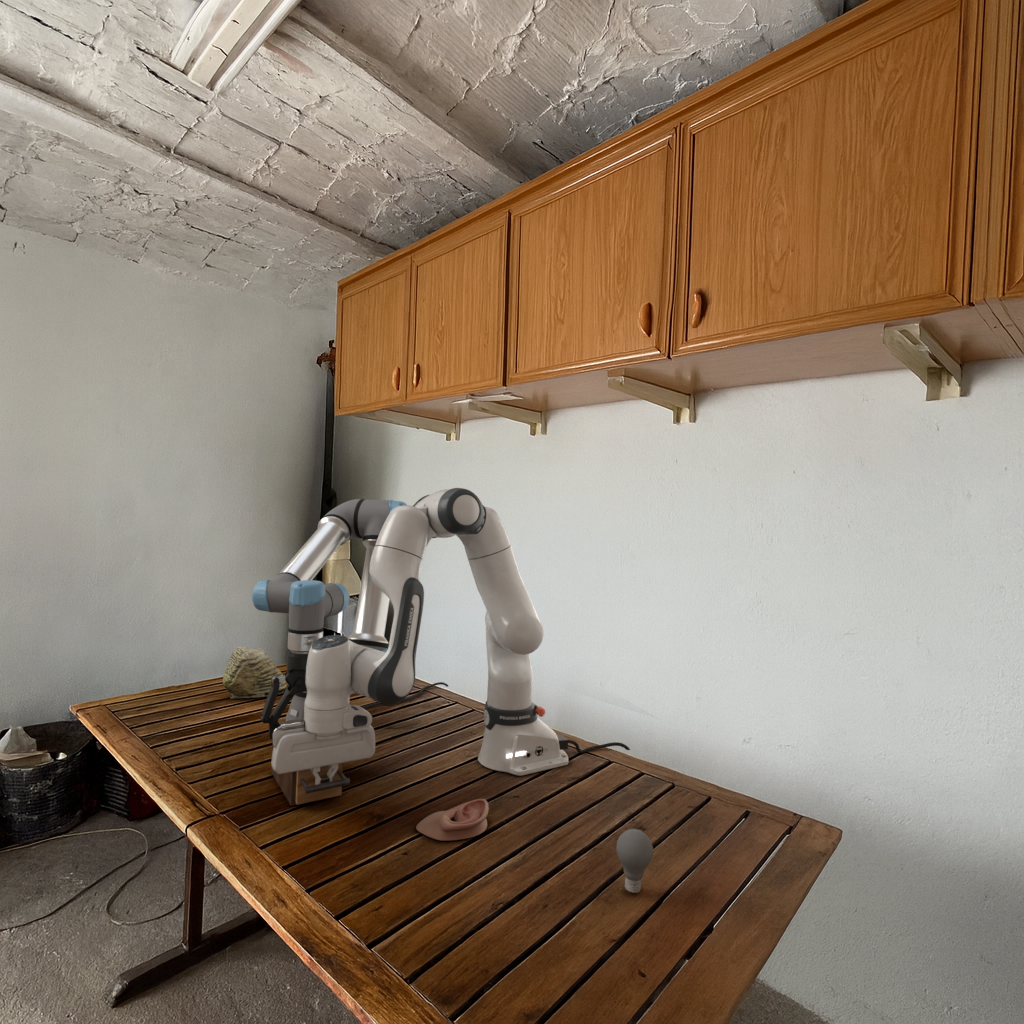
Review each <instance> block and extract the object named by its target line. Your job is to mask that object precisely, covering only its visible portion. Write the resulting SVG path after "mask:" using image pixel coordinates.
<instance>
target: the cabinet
mask: <svg viewBox="0 0 1024 1024" xmlns="http://www.w3.org/2000/svg"><path fill="white" fill-rule="evenodd" d="M300 721H304V718H302V719H296V720H289V721H286V720H283V721H282V720H281V721H278V722H279V724H280V726H281V725H282V724H286V723H288V724H290V723H294V722H300ZM280 730H281V729H280ZM272 753H273V748H272ZM272 753H271V754H272ZM271 775H272V776H273V778H274V779H275V782H276V783H277V785H278V787H279V788H280V789H281V792H282V793H283V795H284V797H285V798H286V800H287V802H288V803H289V805H290V806H291V807H294V806H298V805H297V804H296V777H297V771H295V772H289V773H284V774H277V773H276V772H275V771H274V770H273V768H272V767H271Z"/></svg>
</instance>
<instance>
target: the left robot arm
mask: <svg viewBox="0 0 1024 1024" xmlns="http://www.w3.org/2000/svg"><path fill="white" fill-rule="evenodd" d="M401 505H408V504H407V503H406V502H404V501H401V500H393V499H365V498H356V499H351V500H347V501H344V502H342V503H340V504H338V505H336V506H335V507H334V508H332V509H331V510H329V511H328V512H327V513H326V514H325V515H323V517H322V518H321V519H320V520H319V521H318V524H317V529H316V530H315V531H314V533H312V535H311V536H310V537H309V538H308V539H307V540H306V542H305V543H304V544H303V545H302V546H301V548H299V550H298V551H297V552H296V553H295V555H294V556H293V557H292V558H291V559H290V560H289V561H288V562H287V563H286V565H285V566H284V567H283V568H282V569H281V570H280V572H279V573H278V574H277V575H276V576H275V577H274V578H273V579H272V580H270V579H266V580H260V581H258V582H257V583H256V584H255V585H254V587H253V590H252V594H251V601H252V603H253V606H254V608H255V609H256V610H258V611H262V612H267V613H277V614H288V630H287V631H288V633H287V650H288V652H286V653H287V654H286V657H287V658H286V672H285V673H284V674H283V676H275V675H274V676H272V677H271V688H270V691H269V694H268V696H266V699H265V702H264V705H263V708H262V711H261V714H260V716H259V718H260V719H259V720H261V722H262V723H263V724H268V738H269V739H270V740H272V735H273V732H274V730H275V729H276V728H278V727H280V724H279V722H280V721H279V720H280V718H281V716H282V715H283V713H284V712H285V710H286V709H287V707H288V706H289V708H288V711H287V713H286V715H285V721H289V720H296V719H302V718H304V703H305V699H306V696H307V688H306V683H305V680H306V665H307V658H308V654H309V650H310V647H311V645H312V644H313V642H315V641H316V640H318V639H319V638H322V637H324V623H325V622H324V621H325V619H326V618H330V617H332V616H336V615H339V614H340V613H342V612H343V611H345V610H346V609H347V608H348V606H349V604H350V599H351V598H350V593H349V590H348V589H347V587H346V586H345V585H343V584H341V583H339V582H328V583H326V584H325V583H324V582H323V581H320V580H315V579H314V578H315V577H316V576H317V575H318V574H319V572H320V571H321V570H322V568H323V567H324V566H325V564H327V562H328V561H329V559H330V558H331V557H332V556H333V554H334V553H335V552H336V550H338V548H339V547H340V546H343V545H345V544H346V543H347V542H348V541H349V540H352V539H361V540H362V544H363V546H364V547H365V550H366V551H365V556H364V557H365V558H364V562H363V568H362V569H363V570H362V574H361V580H360V581H361V582H360V587H359V594H358V600H357V606H356V612H355V619H354V624H353V630H352V633H351V634H350V635H348V636H346V637H347V638H348V639H349V640H350V641H352V642H354V643H356V644H358V645H361V646H365V647H369V648H373V649H376V650H379V651H382V652H386V651H387V650H388V647H389V641H388V640H387V638H386V637H385V633H386V625H387V620H388V613H389V606H390V601H391V600H390V599H389V598H388V597H387V595H385V594H384V593H383V592H382V591H381V590H380V589H379V588H378V587H377V586H376V585H375V584H374V582H373V580H372V578H371V576H370V572H369V568H370V560H371V556H372V553H373V550H374V547H375V544H376V541H377V539H378V536H379V534H380V531H381V529H382V527H383V525H384V523H385V521H386V519H387V517H388V515H389V513H390V512H391V510H392V509H394V508H395V507H397V506H401ZM284 681H286V684H287V687H286V690H285V691H284V692H283V693H282V695H281V698H280V699H279V701H278V703H277V704H276V706H275V703H276V700H277V697H278V695H279V694H278V692H279V687H280V686H282V684H283V682H284ZM430 685H431V686H429V685H426V686H423V687H422V688H420V690H419V691H418V692H416V693H415V694H413V695H411V696H408V697H406V698H405V699H404V700H403V701H401V702H400V703H403V702H406V701H410V700H412V699H414V698H416V697H418V696H420V695H421V694H422V693H423V691H425V690H427V689H431V688H433V687H436V686H438V685H439V686H440V685H441V686H442V685H443V686H445V687H449V684H447V683H446V682H443V681H438V682H434V683H432V684H430ZM381 705H382V704H380V703H379V702H373V703H370V704H367V705H363V706H361V707H362V708H364V709H365V710H366V709H368V708H371V707H376V706H381ZM274 706H275V707H274ZM273 708H274V709H273ZM279 730H280V729H279ZM273 747H274V746H273V745H272V748H273Z"/></svg>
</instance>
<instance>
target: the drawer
mask: <svg viewBox="0 0 1024 1024" xmlns="http://www.w3.org/2000/svg"><path fill="white" fill-rule="evenodd" d="M343 767H344V762H343V763H338V770H337V771H336V773H335V775H334V776H333V777H332V781H331V782H327V783H322V784H317V785H315V776H314V775H313V773H312V771H311V770H310V769H305V770H300V771H297V777H296V804H297V805H296V806H298V805H302V804H307V803H312V802H316V801H322V800H325V799H330V798H334V797H338V796H342V795H343V787H345V786H349V785H350V784H351V780H350V777H346V776H345V775H344V773H343V771H344V770H343V769H344V768H343ZM329 769H330V766H329V765H327V766H322V767H320V772H317V773H318V775H319V776H322V775H327V772H328V771H329Z"/></svg>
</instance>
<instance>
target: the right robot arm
mask: <svg viewBox="0 0 1024 1024" xmlns="http://www.w3.org/2000/svg"><path fill="white" fill-rule="evenodd" d="M455 536H456V537H457V538H458V539H459V540H460V541H461V543H462V545H463V547H464V550H465V554H466V558H467V562H468V565H469V566H470V571H471V573H472V577H473V579H474V583H475V586H476V589H477V591H478V593H479V595H480V597H481V600H482V603H483V605H484V607H485V610H486V611H485V616H484V623H485V641H486V642H485V643H486V644H485V645H486V659H487V695H486V701H485V705H484V711H483V712H484V713H483V714H484V715H483V723H484V732H483V737H482V742H481V747H480V750H479V753H478V756H477V761H478V762H479V764H481V766H483V767H485V768H488V769H490V770H492V771H493V770H494V771H497V772H504V773H508V774H511V775H514V776H519V777H520V776H526V775H529V774H535V773H538V772H542V771H543V772H544V771H547V770H551V769H556V768H560V767H564V766H567V765H569V761H570V760H569V756H568V754H567V753H566V751H565V750H568V749H569V744H572V745H574V747H575V750H576V752H577V753H578V754H585V753H588V752H590V751H594V750H599V749H605V748H610V747H621V748H623V749H625V750H626V751H631V749H630V747H629V746H628V745H627V744H625V743H623V742H616V741H615V742H614V741H612V742H607V743H603V744H597V745H592V746H589V747H585V748H584V749H580V745H579V743H578V742H577V741H575V740H573V739H569V738H567V737H565V735H563V733H561V732H555V731H554V730H553V729H552V728H551V727H550V726H549V725H548V724H546V723H545V722H544V721H543V720H541V719H540V718H543V717H545V715H546V709H545V708H543V707H542V706H538V705H537V703H535V702H532V700H533V699H532V698H533V680H534V672H533V668H532V662H531V656H530V654H532V653H534V652H535V651H536V650H537V649H539V647H540V646H541V644H542V642H543V639H544V634H545V633H544V626H543V625H542V622H541V620H540V618H539V615H538V613H537V610H536V608H535V605H534V603H533V600H532V598H531V596H530V593H529V591H528V589H527V586H526V584H525V582H524V580H523V578H522V575H521V573H520V569H519V567H518V563H517V560H516V557H515V553H514V550H513V547H512V544H511V540H510V537H509V536H508V533H507V531H506V527H505V526H504V523H503V522H502V519H501V518H500V516H499V514H498V512H496V510H495V509H494V508H491V507H488V506H485V505H483V503H482V501H481V499H480V498H479V497H478V495H476V494H475V493H474V492H473V491H471V490H470V489H467V488H464V487H453V488H448V489H447V488H446V489H440V490H437V491H434V492H433V493H431V494H427V495H424V496H422V497H420V498H419V499H418V500H417V501H416V502H415V503H414V504H413V505H409V504H407V505H401V506H397V507H395V508H394V509H392V510H391V512H390V513H389V515H388V517H387V519H386V521H385V523H384V525H383V527H382V529H381V531H380V534H379V536H378V539H377V541H376V544H375V547H374V550H373V553H372V556H371V560H370V568H369V572H370V576H371V578H372V580H373V582H374V584H375V585H376V586H377V587H378V588H379V589H380V590H381V591H382V592H383V593H384V594H385V595H387V597H388V598H389V599H390V600H389V601H390V602H391V604H392V608H393V618H392V624H391V629H390V630H391V631H390V636H389V641H388V643H389V644H388V650H387V651H386V652H382V651H379V650H376V649H373V648H369V647H365V646H361V645H358V644H356V643H354V642H352V641H350V640H349V639H348V638H347V637H348V636H346V635H342V634H333V635H325V636H323V637H322V638H319V639H318V640H316V641H315V642H313V644H312V645H311V647H310V650H309V654H308V658H307V665H306V680H305V683H306V688H307V696H306V699H305V703H304V721H300V722H294V723H290V724H288V723H286V724H282V725H281V726H280V727H278V728H276V729H275V730H274V732H273V735H272V739H271V744H272V749H273V753H271V762H270V766H271V769H272V768H273V770H274V771H275V772H276V773H277V774H284V773H289V772H295V771H300V770H305V769H310V770H311V771H312V773H313V775H314V776H315V785H317V784H322V783H327V782H331V781H332V777H333V776H334V775H335V773H336V771H337V770H338V763H343V764H344V763H349V762H354V761H358V760H359V761H361V760H364V759H370V758H372V757H373V756H374V755H375V752H376V734H375V728H374V727H373V726H372V723H373V716H372V714H371V713H370V712H369V711H368V710H367V709H366V708H365V709H364V708H362V707H363V706H360V705H355V704H351V699H350V698H351V695H353V694H357V695H360V696H362V697H365V698H369V699H371V700H372V701H375V702H376V703H378V702H379V703H380V704H381V705H382V706H385V707H393V706H396V705H398V704H400V703H402V702H401V701H403V700H404V699H405V698H408V697H409V695H410V694H411V692H412V690H413V689H414V686H415V683H416V657H417V651H418V650H417V649H418V643H419V637H420V631H421V624H422V617H423V613H424V612H423V610H424V602H425V589H424V585H423V584H422V583H421V571H422V570H421V569H422V566H423V565H422V564H423V561H424V557H425V554H426V549H427V547H428V545H429V543H430V541H431V540H432V539H437V538H438V539H446V538H447V539H448V538H452V537H455ZM538 716H539V717H540V718H539V717H538ZM279 729H281V730H279ZM273 746H274V747H273ZM327 765H329V766H330V769H329V771H328V772H327V775H322V776H319V775H318V773H317V772H320V767H322V766H327Z"/></svg>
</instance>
